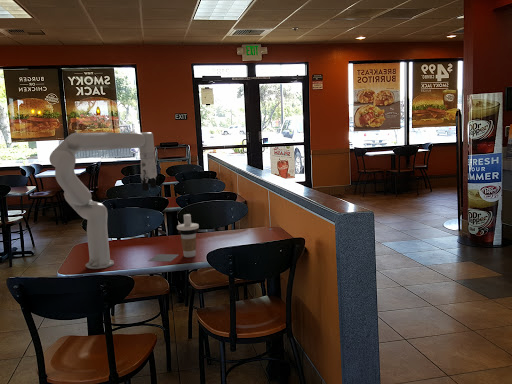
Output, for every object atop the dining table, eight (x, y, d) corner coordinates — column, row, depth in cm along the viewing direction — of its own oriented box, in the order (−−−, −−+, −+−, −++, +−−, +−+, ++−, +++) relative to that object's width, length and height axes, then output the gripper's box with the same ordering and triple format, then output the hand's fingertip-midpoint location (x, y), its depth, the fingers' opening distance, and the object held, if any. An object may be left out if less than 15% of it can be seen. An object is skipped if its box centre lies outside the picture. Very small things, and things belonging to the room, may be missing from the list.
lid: (194, 230, 234) (193, 217, 233) (173, 230, 236) (172, 217, 235) (201, 225, 244) (200, 212, 243) (181, 225, 247) (180, 212, 246)
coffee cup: (182, 259, 237) (180, 230, 235) (180, 255, 246) (179, 226, 243) (198, 257, 239) (197, 228, 237) (197, 253, 247) (195, 225, 245)
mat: (170, 262, 233) (170, 261, 233) (148, 262, 235) (148, 260, 235) (179, 255, 245) (179, 254, 244) (157, 255, 247) (157, 254, 247)
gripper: (147, 157, 236) (149, 191, 238) (160, 154, 252) (162, 186, 255) (133, 157, 237) (135, 191, 240) (147, 155, 254) (149, 186, 257)
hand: (149, 188), depth 247 cm, fingers open, 9 cm apart
